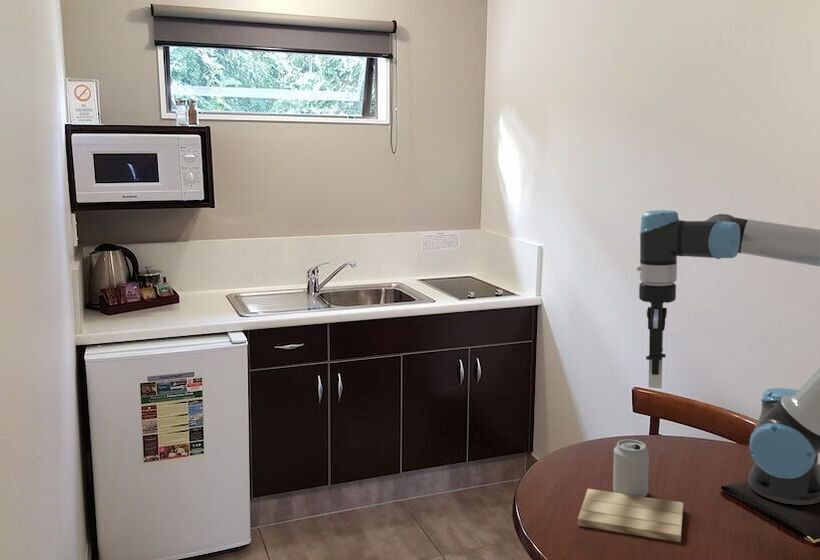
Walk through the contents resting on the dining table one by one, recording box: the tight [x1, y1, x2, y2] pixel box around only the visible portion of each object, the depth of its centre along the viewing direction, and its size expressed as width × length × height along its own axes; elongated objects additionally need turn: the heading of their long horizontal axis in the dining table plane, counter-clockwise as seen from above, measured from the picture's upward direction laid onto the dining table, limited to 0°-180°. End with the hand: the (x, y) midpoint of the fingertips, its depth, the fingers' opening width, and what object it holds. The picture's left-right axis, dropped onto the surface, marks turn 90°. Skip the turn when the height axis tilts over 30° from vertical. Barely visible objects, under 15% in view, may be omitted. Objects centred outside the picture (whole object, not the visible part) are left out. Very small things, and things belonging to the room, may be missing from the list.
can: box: [612, 438, 650, 497], centre depth 162 cm, size 8×8×12 cm
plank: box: [580, 488, 684, 531], centre depth 155 cm, size 20×10×2 cm, turn 68°
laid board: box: [577, 509, 683, 543], centre depth 148 cm, size 20×4×2 cm, turn 68°
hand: (655, 386), depth 161 cm, fingers closed
